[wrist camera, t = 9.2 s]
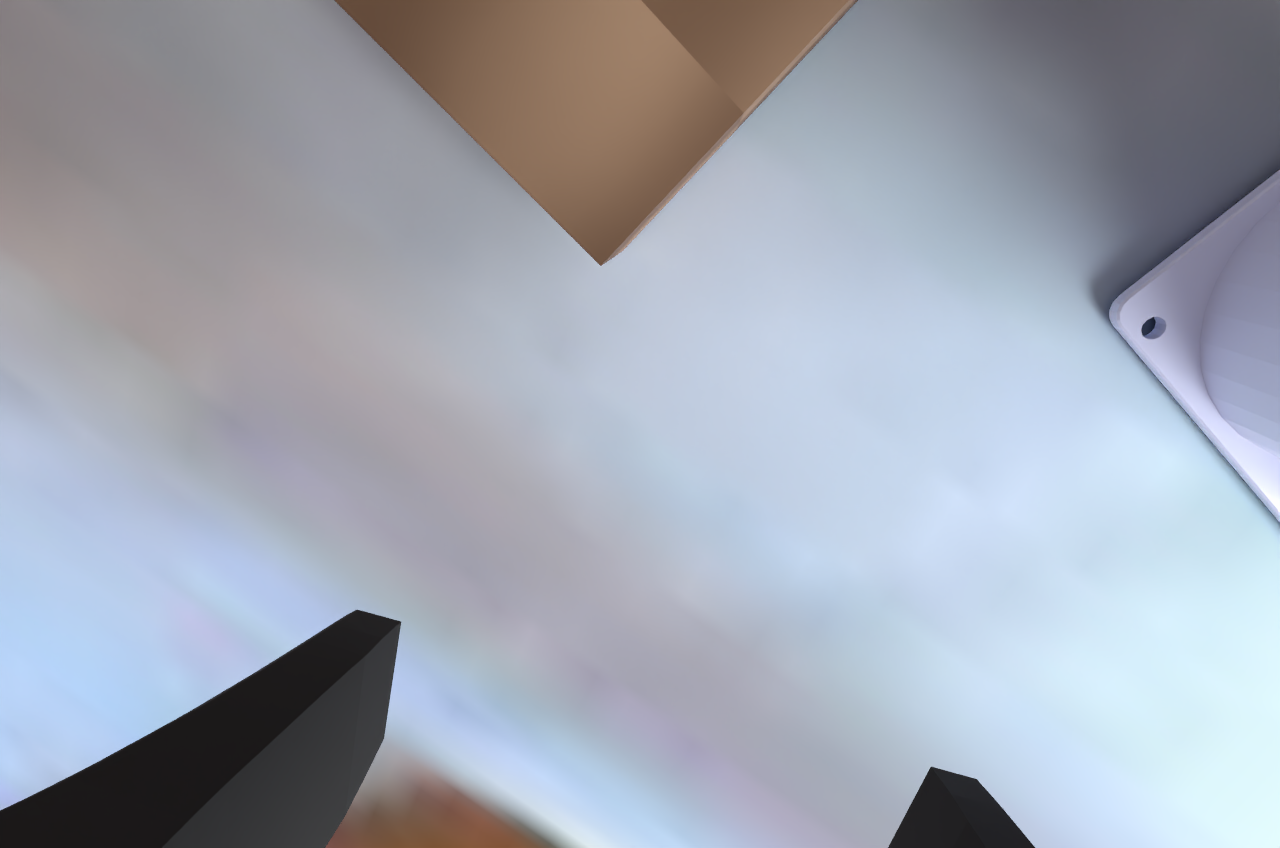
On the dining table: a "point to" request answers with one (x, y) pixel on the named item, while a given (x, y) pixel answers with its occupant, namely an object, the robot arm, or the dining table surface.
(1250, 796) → the dining table surface
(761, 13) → the socket block
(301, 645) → the robot arm
